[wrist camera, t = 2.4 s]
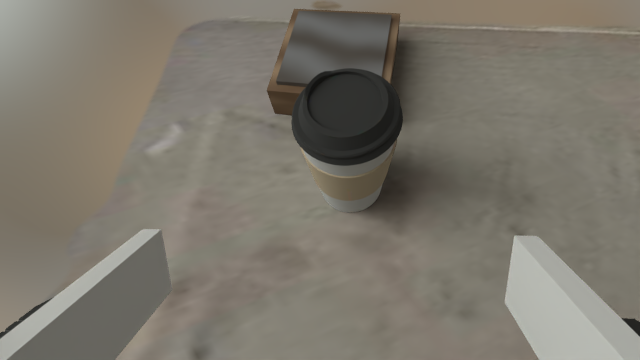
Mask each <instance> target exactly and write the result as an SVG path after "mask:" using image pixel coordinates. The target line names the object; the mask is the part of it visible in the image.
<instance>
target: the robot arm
mask: <svg viewBox="0 0 640 360" xmlns="http://www.w3.org/2000/svg"><path fill="white" fill-rule="evenodd" d="M171 291H172V285H171V279H170V274H169V269H168V263H167V258H166V252H165V247H164V241H163V236H162V231H161V229H142V230H141V231H140V232H139V233H137V234H136V235H135V236H133V237H132V238H131V239H129V240H128V241H127V242H126V243H124V244H123V245H122V246H120V247H119V248H118V249H116V250H115V251H114V252H112V253H111V254H110V255H109V256H107V257H106V258H105V259H103V260H102V261H101V262H99V263H98V264H97V265H96V266H94V267H93V268H92V269H90V270H89V271H88V272H86V273H85V274H84V275H83V276H81V277H80V278H79V279H77V280H76V281H75V282H73V283H72V284H71V285H70V286H68V287H67V288H66V289H64V290H63V291H62V292H60V293H59V294H58V295H57V296H55V297H53V298H51V299H49V300H47V301H45V302H44V303H42V304H40V305H38V306H36V307H34V308H33V309H32V310H31V311H29V312H28V313H26V314H25V315H24V316H23V317H21V318H20V319H19V321H18V322H17V321H16V322H14V323H13V324H12V325H10V326H9V327H8V328H6V330H5V332H1V333H0V360H115V359H116V358H117V356H118V355H119V354H120V353H121V352H122V350H123V349H124V348H125V347H126V345H127V344H128V343H129V342H130V341H131V339H132V338H133V337H134V336H135V335H136V333H137V332H138V331H139V330H140V329H141V327H142V326H143V325H144V324H145V322H146V321H147V320H148V319H149V318H150V316H151V315H152V314H153V313H154V312H155V310H156V309H157V308H158V307H159V306H160V304H161V303H162V302H163V301H164V299H165V298H166V297H167V296H168V295H169V293H170V292H171ZM505 304H506V305H507V307H508V309H509V310H510V312H511V314H512V315H513V317H514V319H515V320H516V322H517V324H518V325H519V327H520V329H521V330H522V332H523V334H524V335H525V337H526V339H527V340H528V342H529V344H530V345H531V347H532V349H533V350H534V352H535V354H536V355H537V357H538V359H539V360H640V322H639V321H637V320H635V319H623V318H620V317H619V316H618V315H617V314H616V313H615V312H614V311H613V310H612V309H611V308H610V307H609V306H608V305H607V304H606V303H605V302H604V301H603V300H602V299H601V298H600V297H599V296H598V295H597V294H596V293H595V292H594V291H593V290H592V289H591V288H590V287H589V286H588V285H587V284H586V283H585V282H584V281H583V280H582V279H581V278H580V277H579V276H578V275H577V274H576V273H574V272H573V271H572V270H571V269H570V268H569V267H568V266H567V265H566V264H565V263H564V262H563V261H562V260H561V259H560V258H559V257H558V256H557V255H556V254H555V253H554V252H553V251H552V250H551V249H550V248H549V247H548V246H547V245H546V244H545V243H544V242H543V241H542V240H541V239H540V238H539V237H538V236H514V242H513V248H512V255H511V262H510V269H509V276H508V283H507V290H506V296H505Z"/></svg>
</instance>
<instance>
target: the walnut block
mask: <svg viewBox="0 0 640 360" xmlns="http://www.w3.org/2000/svg"><path fill="white" fill-rule="evenodd" d="M399 21H400V14H396V13H374V12H352V11H329V10H306V9H305V10H304V9H294V11H293V14H292V17H291V20H290V23H289V26H288V29H287V32H286V35H285V38H284V41H283V44H282V47H281V50H280V53H279V56H278V59H277V62H276V65H275V68H274V71H273V74H272V77H271V79H270V82H269V85H268V88H267V92H268V95H269V98H270V101H271V104H272V106H273V109H274V112H275V113H276V114H286V115H292V111H293V107H294V104H295V102H296V100H297V98H298V96H299V95H300V93H301V92H302V91H303V89H304V88H305V87H306V86H307V85H308V84H309V82H310V81H311V80H312V79H313V78H314V77H315V76H316V75H318V74H319V73H321V72H324V71H334V70H338V69H345V68H354V69H362V70H367V71H370V72H373V73H375V74H377V75H379V76H381V77H383V78H384V79H385V80H387V81H388V82H389V83H390V84H391V81H392V74H393V68H394V61H395V54H396V47H397V40H398V31H399Z"/></svg>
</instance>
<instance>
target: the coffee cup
mask: <svg viewBox="0 0 640 360" xmlns="http://www.w3.org/2000/svg"><path fill="white" fill-rule="evenodd" d="M402 121H403V116H402V109H401V106H400V101H399V97H398V95H397V93H396V91H395V89H394V88H393V86H392V85H391V84H390V83H389V82H388V81H387V80H385V79H384V78H383V77H381V76H379V75H377V74H375V73H373V72H370V71H367V70H362V69H354V68H345V69H338V70H334V71H324V72H321V73H319V74H318V75H316V76H315V77H314V78H313V79H312V80H311V81H310V82H309V84H308V85H307V86H306V87H305V88H304V89H303V91H302V92H301V93H300V95H299V96H298V98H297V100H296V102H295V104H294V107H293V111H292V130H293V134H294V137H295V139H296V141H297V143H298V144H299V145H300V147H301V150H302V153H303V155H304V157H305V159H306V162H307V164H308V166H309V168H310V171H311V173H312V175H313V177H314V179H315V182H316V184H317V185H318V187H319V188H320V190H321V192H322V195H323V197H324V199H325V200H326V202H327V203H328V204H329V205H330V206H331V207H333V208H335V209H336V210H339V211H342V212H349V213H352V212H358V211H362V210H364V209H366V208H368V207H369V206H371V205H372V204H373V203H374V202H375V201H376V199H377V198H378V196H379V194H380V191H381V188H382V184H383V182H384V180H385V178H386V175H387V172H388V169H389V166H390V163H391V159H392V156H393V153H394V150H395V147H396V143H397V137H398V136H399V133H400V131H401V127H402Z"/></svg>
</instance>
